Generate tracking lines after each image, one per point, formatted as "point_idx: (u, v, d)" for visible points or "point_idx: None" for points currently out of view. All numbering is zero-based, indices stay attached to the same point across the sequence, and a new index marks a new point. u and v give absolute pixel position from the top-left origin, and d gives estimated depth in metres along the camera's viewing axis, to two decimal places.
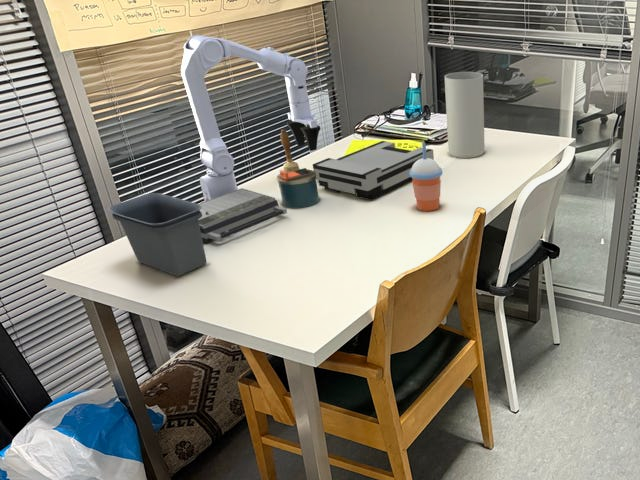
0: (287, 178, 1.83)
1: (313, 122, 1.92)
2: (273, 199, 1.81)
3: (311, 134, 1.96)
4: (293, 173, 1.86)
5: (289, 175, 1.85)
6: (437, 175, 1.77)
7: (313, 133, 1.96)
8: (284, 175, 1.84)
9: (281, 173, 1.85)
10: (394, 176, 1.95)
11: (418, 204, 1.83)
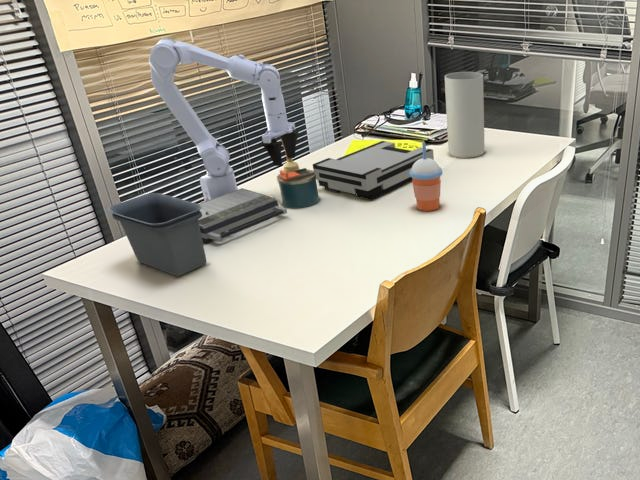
0: (287, 178, 1.83)
1: (264, 137, 1.79)
2: (273, 199, 1.81)
3: (274, 149, 1.84)
4: (293, 173, 1.86)
5: (289, 175, 1.85)
6: (437, 175, 1.77)
7: (276, 149, 1.84)
8: (284, 175, 1.84)
9: (281, 173, 1.85)
10: (394, 176, 1.95)
11: (418, 204, 1.83)
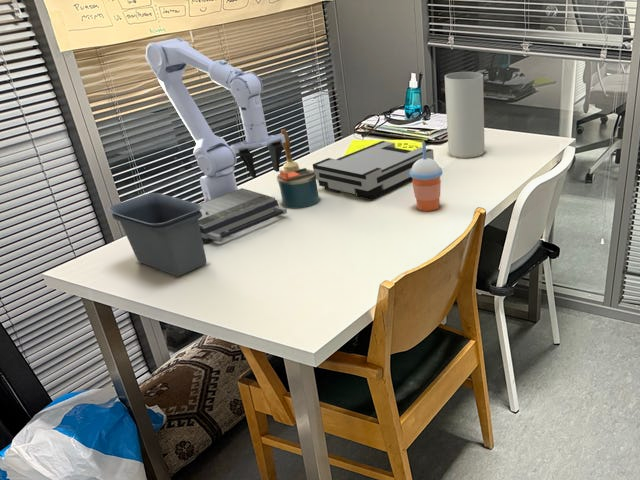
0: (287, 178, 1.83)
1: (232, 147, 1.72)
2: (273, 199, 1.81)
3: None
4: (293, 173, 1.86)
5: (289, 175, 1.85)
6: (437, 175, 1.77)
7: None
8: (284, 175, 1.84)
9: (281, 173, 1.85)
10: (394, 176, 1.95)
11: (418, 204, 1.83)
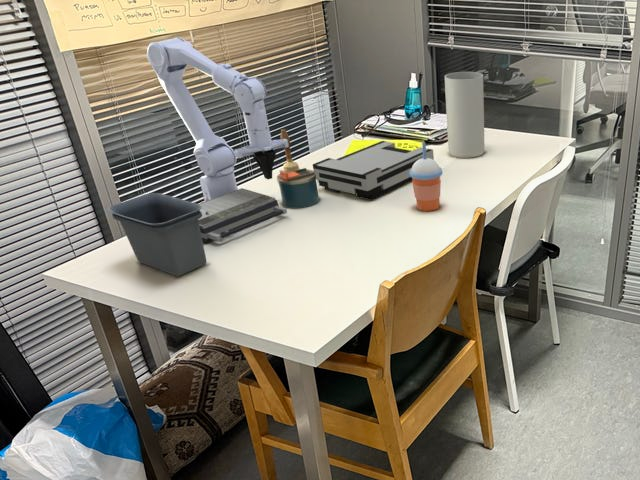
0: (287, 178, 1.83)
1: (236, 152, 1.73)
2: (273, 199, 1.81)
3: None
4: (293, 173, 1.86)
5: (289, 175, 1.85)
6: (437, 175, 1.77)
7: None
8: (284, 175, 1.84)
9: (281, 173, 1.85)
10: (394, 176, 1.95)
11: (418, 204, 1.83)
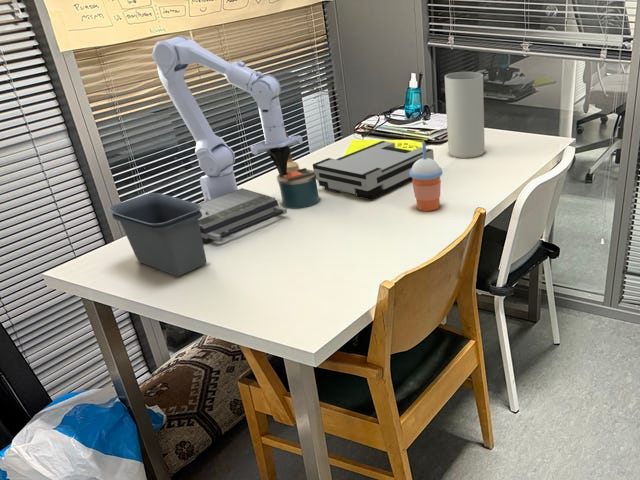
0: (290, 177, 1.84)
1: (251, 148, 1.75)
2: (273, 199, 1.81)
3: None
4: (296, 172, 1.87)
5: (292, 174, 1.85)
6: (437, 175, 1.77)
7: None
8: (287, 174, 1.84)
9: None
10: (394, 176, 1.95)
11: (418, 204, 1.83)
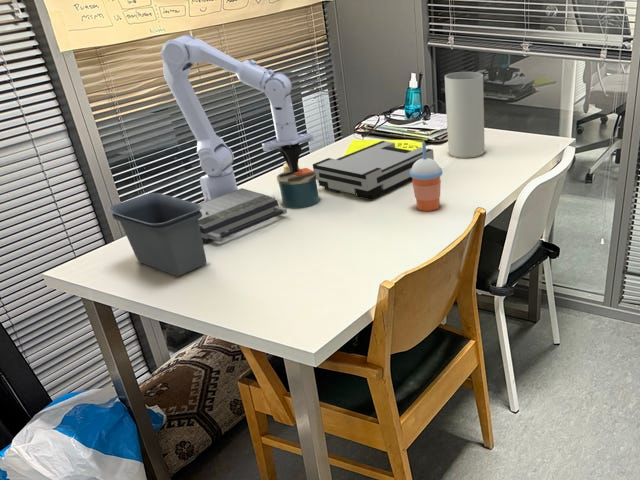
0: (301, 174, 1.86)
1: (263, 145, 1.77)
2: (273, 199, 1.81)
3: None
4: (307, 169, 1.89)
5: (303, 171, 1.87)
6: (437, 175, 1.77)
7: None
8: (298, 171, 1.86)
9: None
10: (394, 176, 1.95)
11: (418, 204, 1.83)
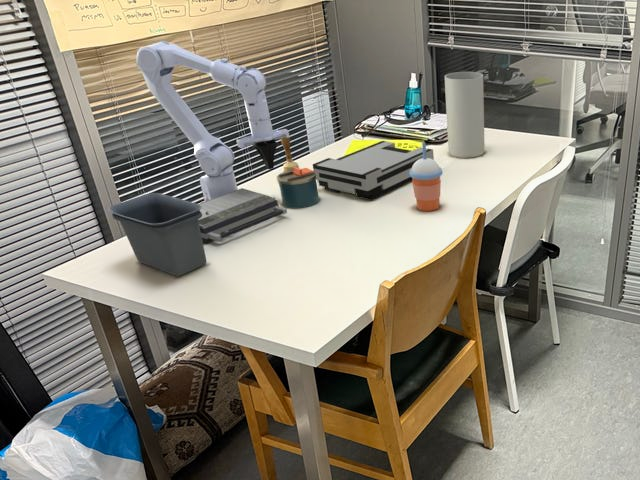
0: (301, 174, 1.86)
1: (237, 142, 1.76)
2: (273, 199, 1.81)
3: None
4: (307, 169, 1.89)
5: (303, 171, 1.87)
6: (437, 175, 1.77)
7: None
8: (298, 171, 1.86)
9: (295, 169, 1.87)
10: (394, 176, 1.95)
11: (418, 204, 1.83)
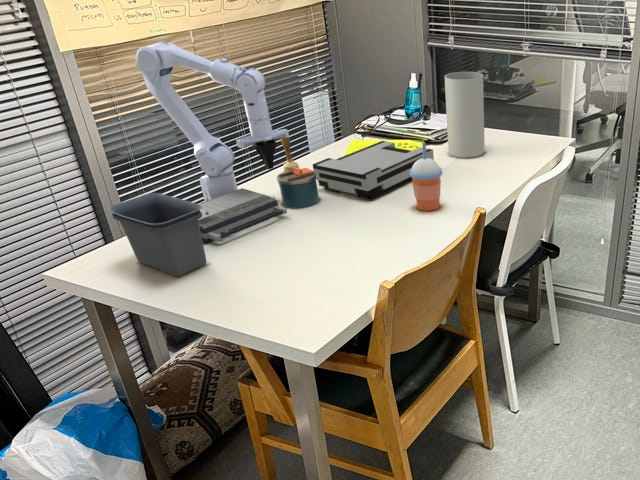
0: (301, 174, 1.86)
1: (237, 142, 1.76)
2: (273, 199, 1.81)
3: None
4: (307, 169, 1.89)
5: (303, 171, 1.87)
6: (437, 175, 1.77)
7: None
8: (298, 171, 1.86)
9: (295, 169, 1.87)
10: (394, 176, 1.95)
11: (418, 204, 1.83)
